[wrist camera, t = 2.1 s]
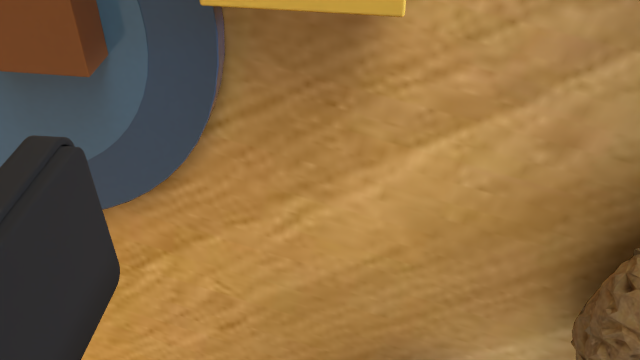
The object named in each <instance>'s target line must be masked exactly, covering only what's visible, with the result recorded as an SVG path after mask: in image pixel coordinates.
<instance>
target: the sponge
mask: <svg viewBox="0 0 640 360" xmlns="http://www.w3.org/2000/svg"><path fill="white" fill-rule="evenodd" d="M572 337H573V340H572V341H571V343H572V345H573V346H574V348H575V349H576V360H640V248H638V249H635V251H634V255H633V257H632V258H631V259H629V260H627V261H625V262H623V263H621V265H620V266H619V267H618V269H617V270H616V271H615V272H614V273H613V274H612V275H610V276H609V277H608V278H607V279H606V280H605V281H604V282H603V283H602V284H601V287H600V288H599V289H598V290H597V291H596V292H595V294H594V295H593V296H592V297H591V298H590V299H589V301H588V302H587V303H586V305H585V306H584V307H583V309H582V310H581V312H580V314H579V315H578V317H577V319H576V320H575V322H574V326H573V330H572Z"/></svg>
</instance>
